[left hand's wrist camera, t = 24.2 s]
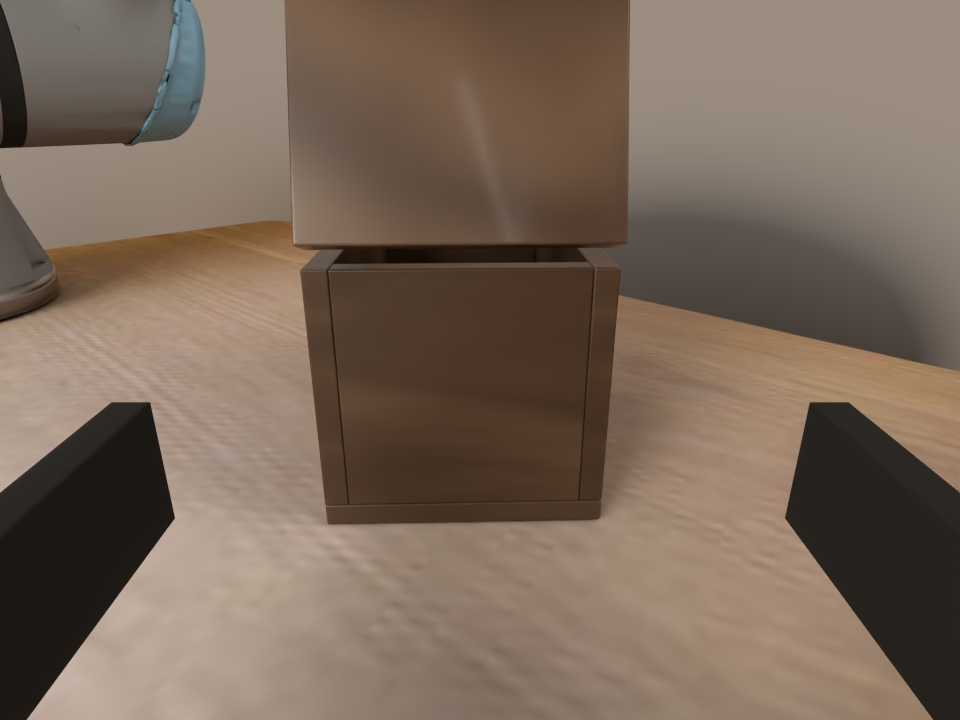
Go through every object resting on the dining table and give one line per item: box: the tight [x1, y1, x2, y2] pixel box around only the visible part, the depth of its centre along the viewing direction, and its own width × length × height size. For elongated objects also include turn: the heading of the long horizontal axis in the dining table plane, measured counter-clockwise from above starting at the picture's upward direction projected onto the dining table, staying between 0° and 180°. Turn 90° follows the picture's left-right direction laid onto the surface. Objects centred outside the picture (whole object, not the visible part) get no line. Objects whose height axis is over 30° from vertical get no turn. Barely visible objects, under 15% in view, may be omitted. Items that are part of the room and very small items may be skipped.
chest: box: [300, 248, 620, 524], centre depth 28 cm, size 16×10×9 cm, turn 2°
